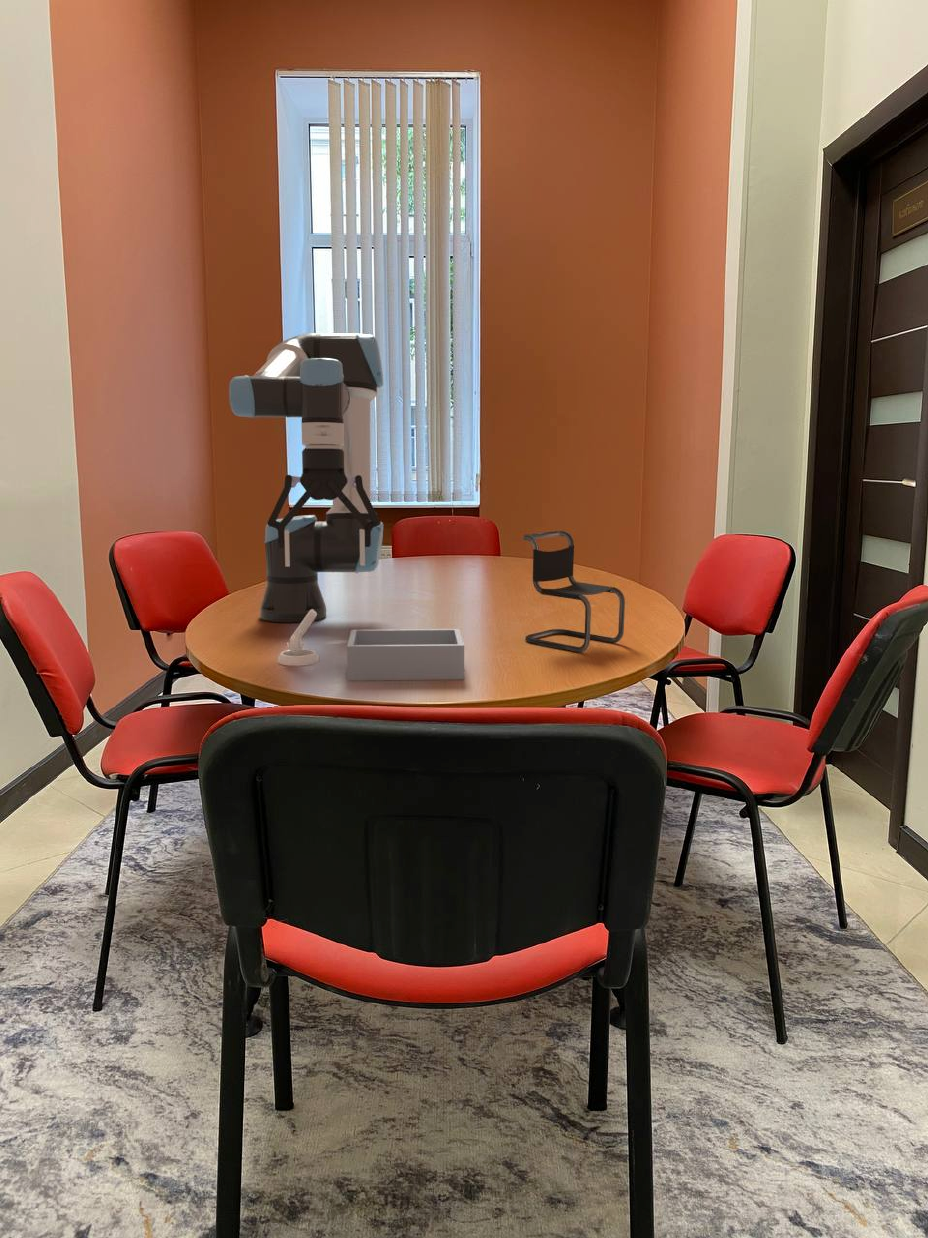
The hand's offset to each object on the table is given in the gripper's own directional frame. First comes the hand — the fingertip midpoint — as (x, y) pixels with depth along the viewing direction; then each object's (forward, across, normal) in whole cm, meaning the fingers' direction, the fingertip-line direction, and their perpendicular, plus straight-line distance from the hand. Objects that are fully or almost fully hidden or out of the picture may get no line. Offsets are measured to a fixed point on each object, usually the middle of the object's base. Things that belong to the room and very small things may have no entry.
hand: (325, 565), depth 166 cm
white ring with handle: (+18, -5, +1) cm, 19 cm away
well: (+18, +14, -9) cm, 25 cm away
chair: (+18, +50, +8) cm, 53 cm away
